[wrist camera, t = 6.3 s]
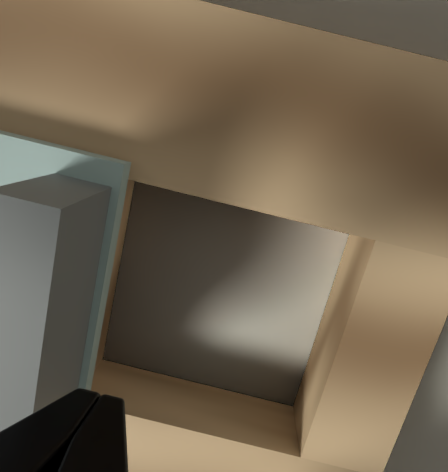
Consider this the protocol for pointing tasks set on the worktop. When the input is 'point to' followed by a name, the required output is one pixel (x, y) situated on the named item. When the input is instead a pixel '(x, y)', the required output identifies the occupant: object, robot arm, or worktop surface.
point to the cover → (53, 267)
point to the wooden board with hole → (258, 202)
